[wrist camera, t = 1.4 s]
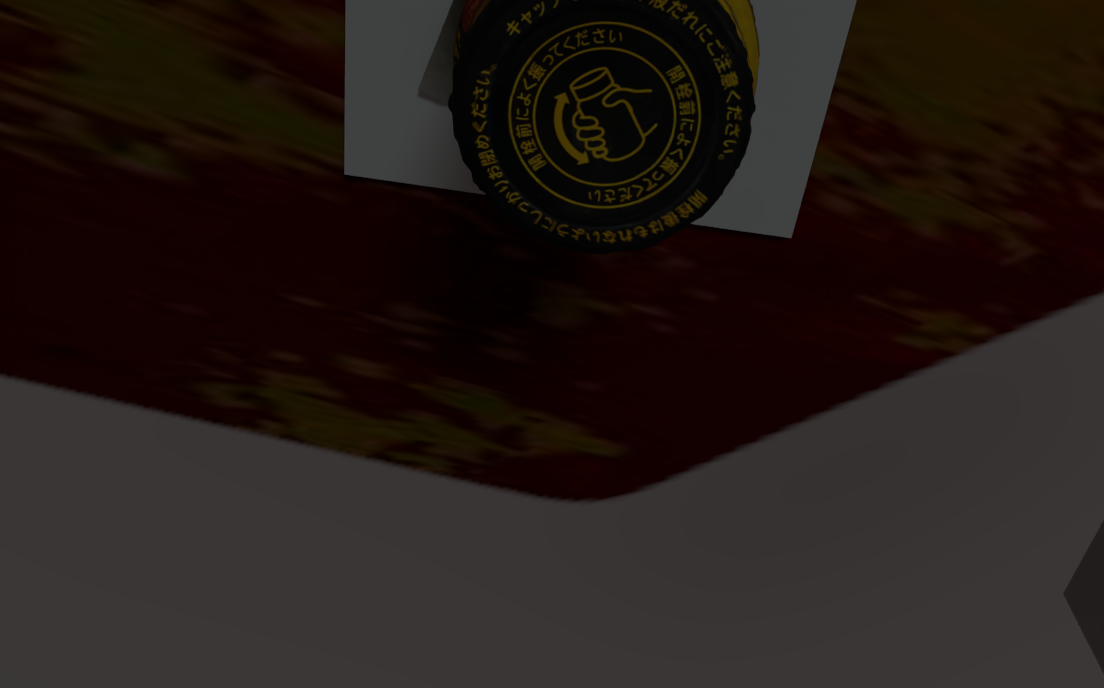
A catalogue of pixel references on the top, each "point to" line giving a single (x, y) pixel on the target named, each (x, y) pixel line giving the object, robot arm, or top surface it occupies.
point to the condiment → (599, 111)
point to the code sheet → (434, 160)
